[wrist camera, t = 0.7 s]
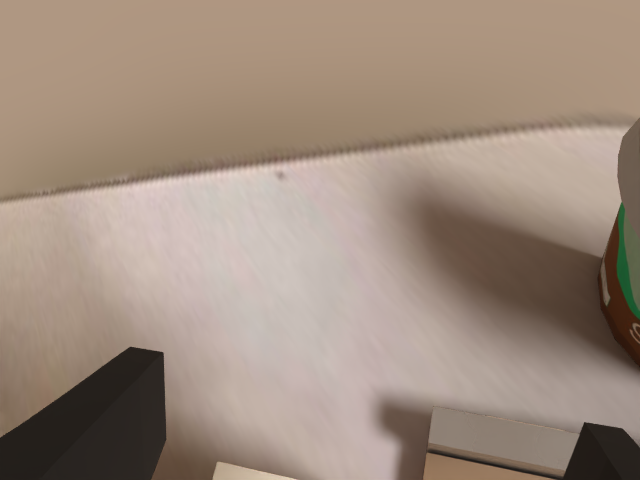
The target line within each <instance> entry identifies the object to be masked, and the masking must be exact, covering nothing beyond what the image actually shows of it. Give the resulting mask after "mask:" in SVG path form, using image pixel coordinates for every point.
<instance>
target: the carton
mask: <svg viewBox="0 0 640 480" xmlns="http://www.w3.org/2000/svg"><path fill="white" fill-rule="evenodd" d="M212 480H297V479H293V478H288V477H284V476H279V475H275V474H271V473H266V472H262V471H258V470H253V469H249V468H244V467H240V466H236V465H231V464H227V463H223V462H217V465H216V468H215V472H214V475H213V478H212Z"/></svg>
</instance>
